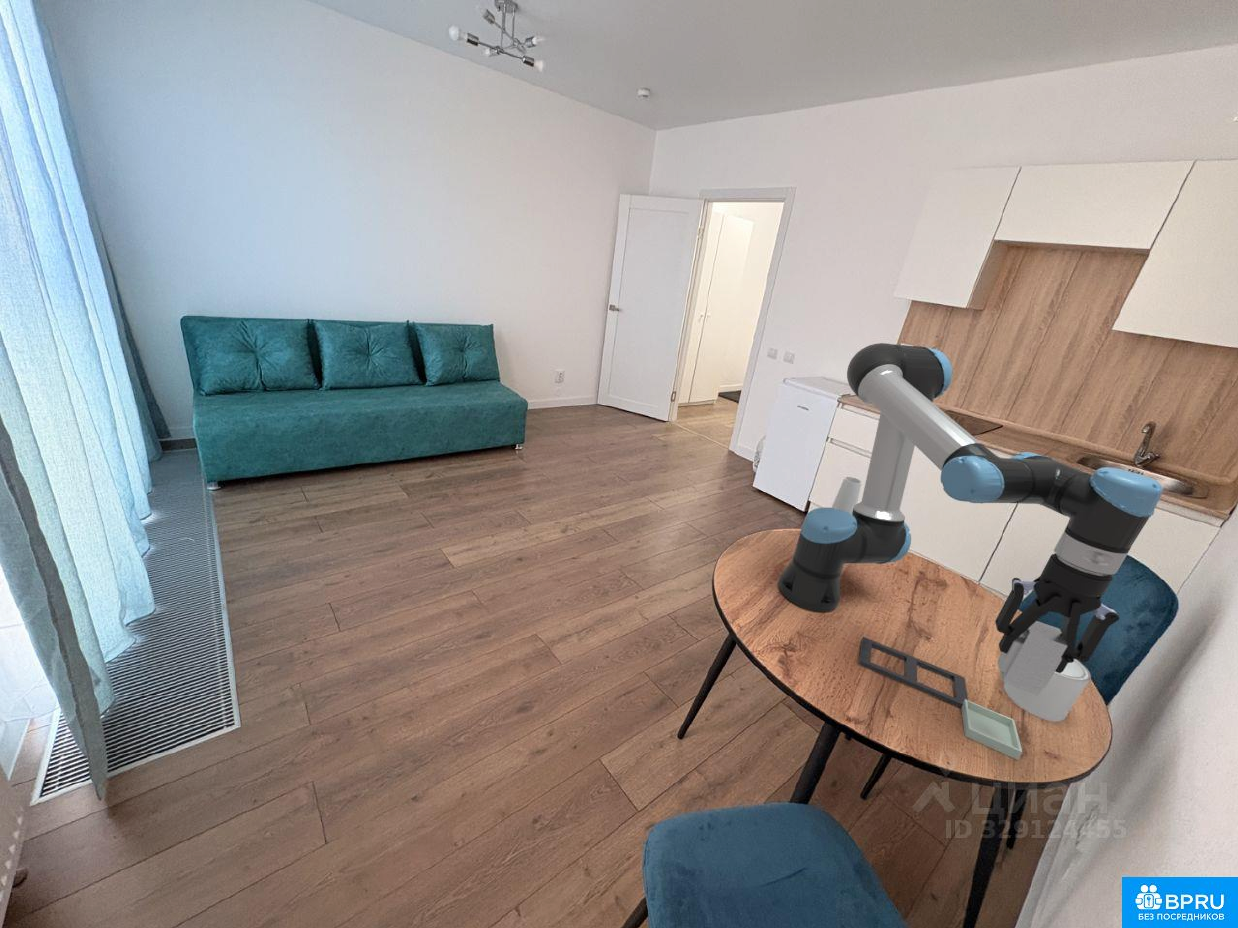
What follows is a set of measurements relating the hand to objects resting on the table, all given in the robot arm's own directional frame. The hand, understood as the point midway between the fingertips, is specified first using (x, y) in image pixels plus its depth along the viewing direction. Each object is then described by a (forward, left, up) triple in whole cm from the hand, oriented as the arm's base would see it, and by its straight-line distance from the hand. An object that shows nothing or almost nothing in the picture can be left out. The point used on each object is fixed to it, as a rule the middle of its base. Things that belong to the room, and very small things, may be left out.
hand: (1020, 673), depth 83 cm
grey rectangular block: (0, 0, -1) cm, 1 cm away
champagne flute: (-35, +52, -15) cm, 64 cm away
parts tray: (0, 0, -15) cm, 15 cm away
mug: (+10, +17, -15) cm, 25 cm away
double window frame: (-13, +8, -15) cm, 21 cm away
